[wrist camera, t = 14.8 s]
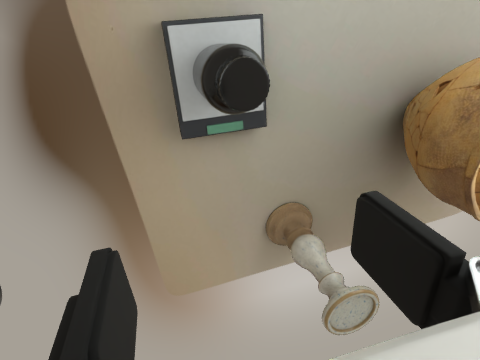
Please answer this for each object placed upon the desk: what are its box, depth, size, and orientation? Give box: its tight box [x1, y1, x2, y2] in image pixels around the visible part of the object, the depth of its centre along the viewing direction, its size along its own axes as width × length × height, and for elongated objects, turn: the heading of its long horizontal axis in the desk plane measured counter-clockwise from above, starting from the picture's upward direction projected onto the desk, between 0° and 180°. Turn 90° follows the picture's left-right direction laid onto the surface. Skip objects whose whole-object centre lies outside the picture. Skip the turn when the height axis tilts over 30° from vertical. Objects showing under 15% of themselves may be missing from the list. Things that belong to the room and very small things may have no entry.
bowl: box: [403, 58, 480, 221], centre depth 41 cm, size 21×20×20 cm
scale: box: [161, 14, 267, 139], centre depth 38 cm, size 12×14×3 cm
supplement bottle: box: [193, 44, 270, 115], centre depth 31 cm, size 7×7×12 cm
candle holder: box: [266, 203, 379, 335], centre depth 44 cm, size 9×9×20 cm
